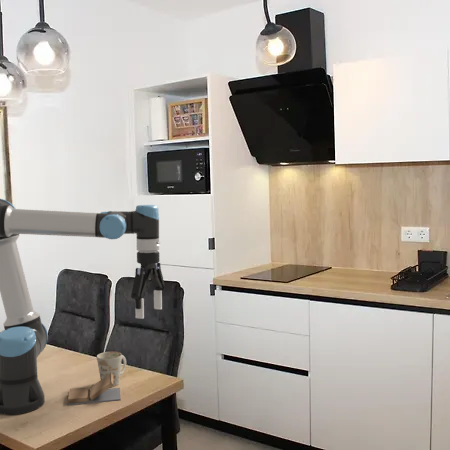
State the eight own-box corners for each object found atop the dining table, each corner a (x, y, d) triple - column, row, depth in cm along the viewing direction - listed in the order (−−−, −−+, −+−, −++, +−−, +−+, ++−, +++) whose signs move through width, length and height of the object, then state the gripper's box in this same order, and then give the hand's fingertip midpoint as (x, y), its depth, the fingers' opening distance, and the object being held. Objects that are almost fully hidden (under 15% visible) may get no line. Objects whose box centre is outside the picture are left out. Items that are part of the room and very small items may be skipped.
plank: (92, 400, 182) (89, 397, 181) (92, 389, 190) (90, 386, 190) (113, 385, 182) (111, 381, 182) (113, 375, 191) (111, 372, 191)
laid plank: (68, 403, 180) (68, 399, 180) (70, 392, 189) (70, 389, 189) (89, 401, 181) (88, 397, 181) (90, 391, 190) (89, 387, 190)
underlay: (68, 405, 180) (68, 404, 180) (70, 393, 190) (70, 392, 189) (120, 400, 183) (120, 398, 183) (120, 388, 193) (119, 387, 193)
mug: (92, 386, 196) (91, 357, 195) (116, 374, 207) (115, 346, 206) (112, 389, 192) (111, 360, 191) (135, 377, 203) (134, 349, 202)
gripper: (140, 256, 181) (141, 323, 183) (173, 247, 205) (174, 306, 206) (119, 255, 184) (120, 321, 185) (154, 246, 207) (155, 304, 209)
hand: (149, 313), depth 196 cm, fingers open, 13 cm apart
